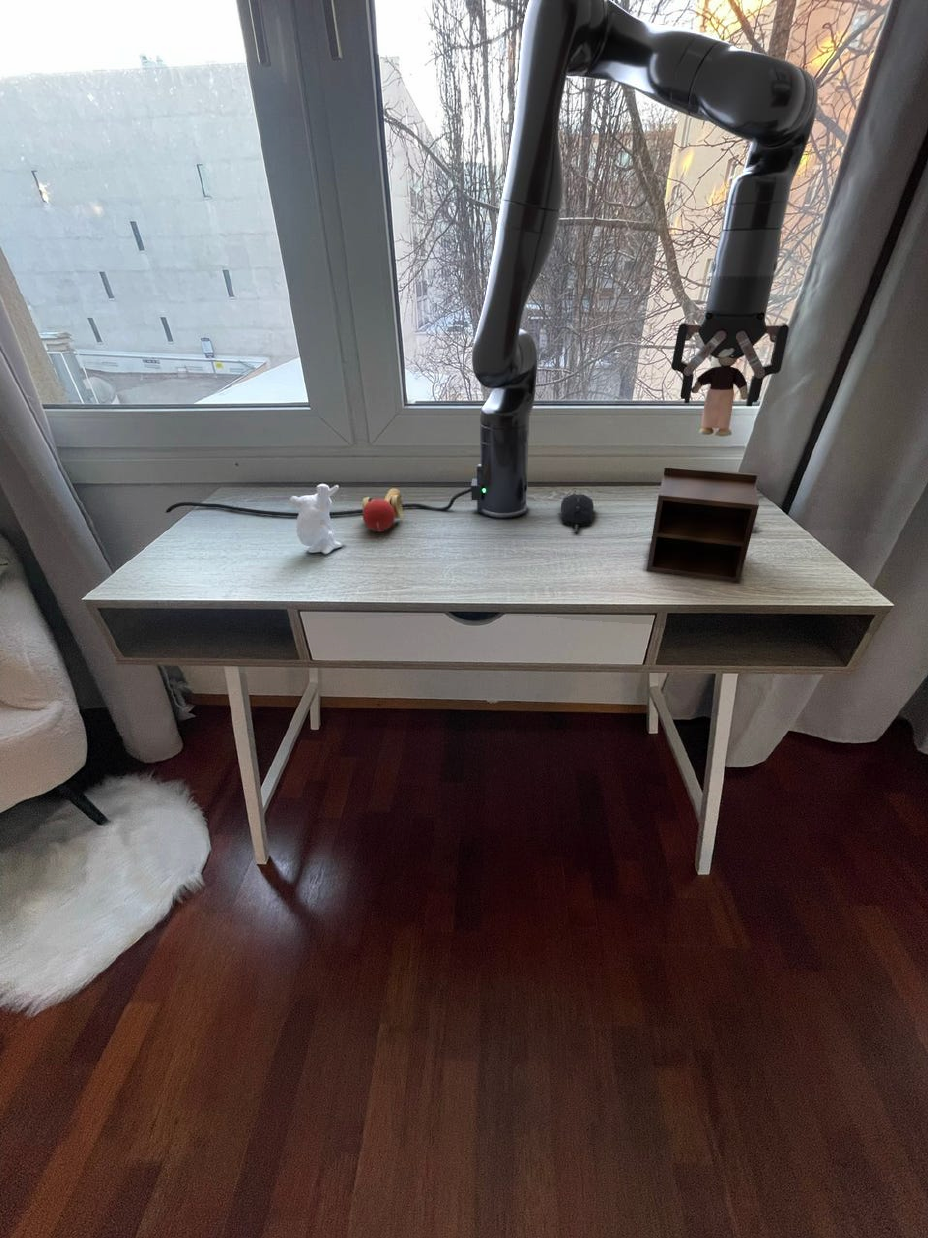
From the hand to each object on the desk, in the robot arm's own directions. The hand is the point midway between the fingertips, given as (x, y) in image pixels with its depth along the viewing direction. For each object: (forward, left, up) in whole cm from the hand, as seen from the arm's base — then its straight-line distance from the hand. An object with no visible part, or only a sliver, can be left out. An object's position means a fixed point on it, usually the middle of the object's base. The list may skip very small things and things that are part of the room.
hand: (717, 403), depth 85 cm
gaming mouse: (-21, +14, -26) cm, 36 cm away
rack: (+1, +1, -25) cm, 25 cm away
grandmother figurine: (0, 0, -4) cm, 4 cm away
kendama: (-57, +3, -26) cm, 62 cm away
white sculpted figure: (-61, -14, -26) cm, 68 cm away
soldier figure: (+8, +20, -26) cm, 33 cm away
